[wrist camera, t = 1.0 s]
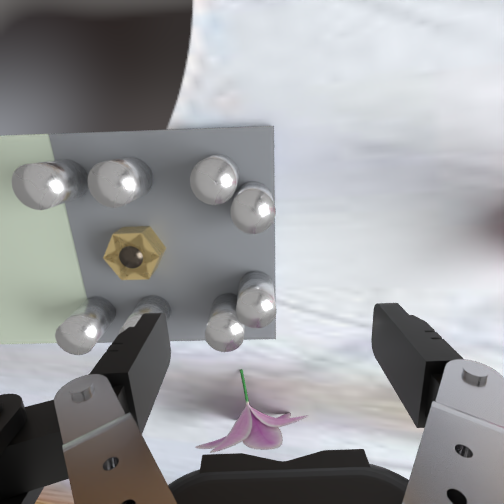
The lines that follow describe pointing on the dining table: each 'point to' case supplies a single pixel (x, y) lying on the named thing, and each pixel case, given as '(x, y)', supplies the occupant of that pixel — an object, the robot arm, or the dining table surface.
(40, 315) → the board
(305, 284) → the dining table surface
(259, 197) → the spacers
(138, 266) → the nut
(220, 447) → the lily
